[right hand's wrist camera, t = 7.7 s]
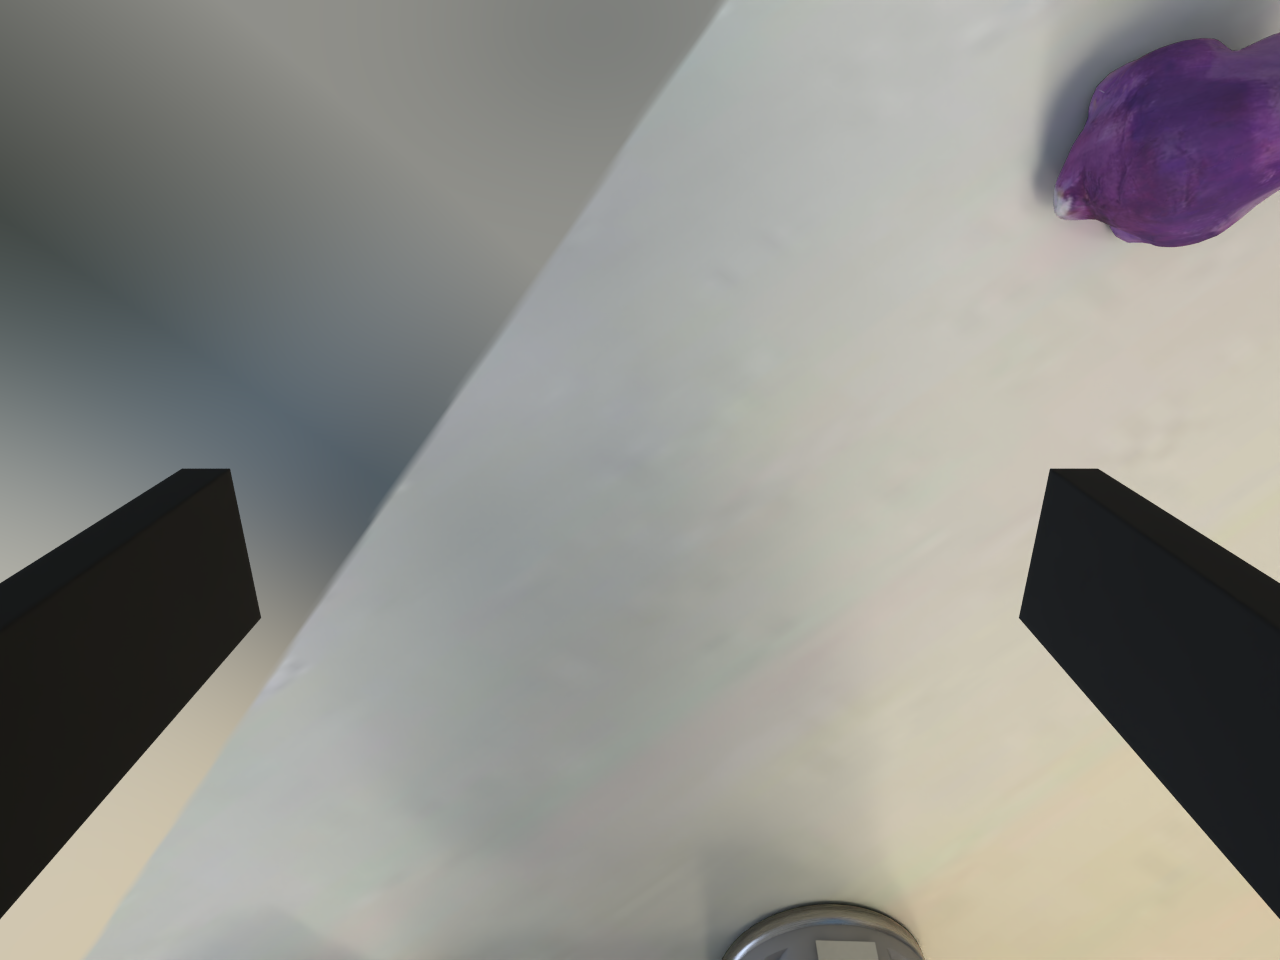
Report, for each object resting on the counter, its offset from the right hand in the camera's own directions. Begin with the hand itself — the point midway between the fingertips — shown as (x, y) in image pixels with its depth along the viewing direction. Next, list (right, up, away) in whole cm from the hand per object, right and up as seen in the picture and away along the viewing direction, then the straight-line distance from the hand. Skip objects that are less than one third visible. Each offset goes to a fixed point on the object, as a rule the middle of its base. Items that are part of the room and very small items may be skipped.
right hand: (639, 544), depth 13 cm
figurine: (+24, +17, +23) cm, 38 cm away
